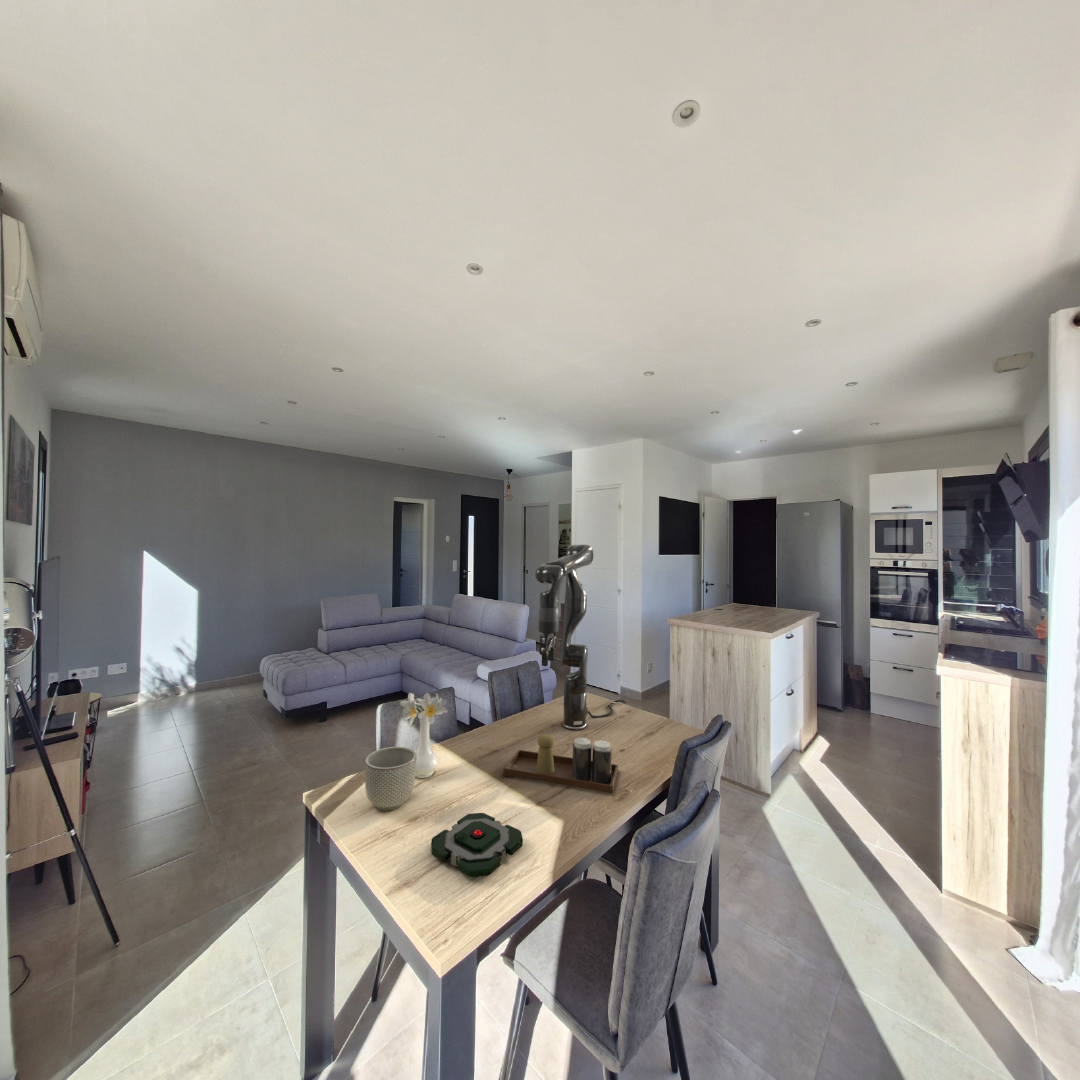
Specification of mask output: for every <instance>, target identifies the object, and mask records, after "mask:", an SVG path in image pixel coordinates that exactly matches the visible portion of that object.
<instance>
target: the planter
mask: <svg viewBox="0 0 1080 1080" xmlns="http://www.w3.org/2000/svg"><path fill="white" fill-rule="evenodd" d="M416 763H417V754H416V751H415V750H414V749H412V748H410V747H406V746H389V747H388V746H387V747H383V748H379V749H377V750H374V751H372V752H371V753H369V754H368V755H367V756H366V757H365V759H364V784H365V794H366V798H367V800H368V802H369V803H370V804H372V805H373V806H374V807H376V808H377V809H378V810H380V811H383V812H388V811H389V812H390V811H394V810H397V809H398V808H400V807H401V806H402V805H403V803H404V802H406V801H407V800H408V799H409V798H410V796H411V795H412V793H413V790H414V787H415V781H416V777H415V774H416Z"/></svg>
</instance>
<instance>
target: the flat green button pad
mask: <svg viewBox="0 0 1080 1080" xmlns="http://www.w3.org/2000/svg"><path fill="white" fill-rule="evenodd" d="M522 833H523V832H522V831H521V830H520V829H518V828H517V827H514V826H512V825H510V824H505V825H502V822H501V821H500V820H496V818H495V817H493V816H491V815H489V814H487V813H485V812H474V813H467V814H466V815H464V816H462V817H461V818H459V819H458V820H457V821H456V823H454V824H453V825H452V826H451V829H450V830H448V829H443V830H442V831H441V832H439V833H437V834H436V835H434V836H433V837H432V838H431V844H430V854H431V856H433V857H435V858H436V859H438V860H440V861H441V862H446V861H448V860H450V864H451V866H453V867H456V870H457V872H460V873H461V874H463V875H465V876H467V877H469V878H480V877H481V878H482V877H488V876H490V875H492V873H494V872H495V871H496V870H497V869H498V868H500V867H501V865H502V864H501V862H503V861H504V860H505V859H506V854H507V855H508V856H513V855H514V854H516V853H517V852H518V851H519V850H520V849H521V848H523V845H524V838H523V835H522Z"/></svg>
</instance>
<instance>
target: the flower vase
mask: <svg viewBox="0 0 1080 1080" xmlns="http://www.w3.org/2000/svg"><path fill="white" fill-rule="evenodd" d="M435 695H436V697H431V695H430V693H428V692H426V693H425V694H424V695H423V698H415V693H412V692H409V693H408V694H407V700H401V701H399V705H400V706H401V707H403V709H402V711H401V713H402V714H401V716H403V717H402V719H403V721H407V720H409V721H408V726H409V727H412V725H413V722H414V720H415V718H418V719H419V721H418V722H419V737H418V745H417V748H416V751H415V752H416V754H417V763H416V774H415V778H417V779H425V778H428V777H429V778H430V777H431V776H432V775H433V774H434V772H435V770H436V769H438V766H439V763H440V760H439V756H438V755H437V753H436V752H435V751H434V750H433V749H432V746H431V740H430V738H431V737H430V728H431V727H430V726H431V725H433V724H434V723H435V720H436V718H435V716H441V715H443V714H445V715H447V714H448V713H449V711H448V710H447V709H446V707H445V706H443V704H444V700H443V698H442V697H440V698H439V694H438V692H436V693H435Z"/></svg>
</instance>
